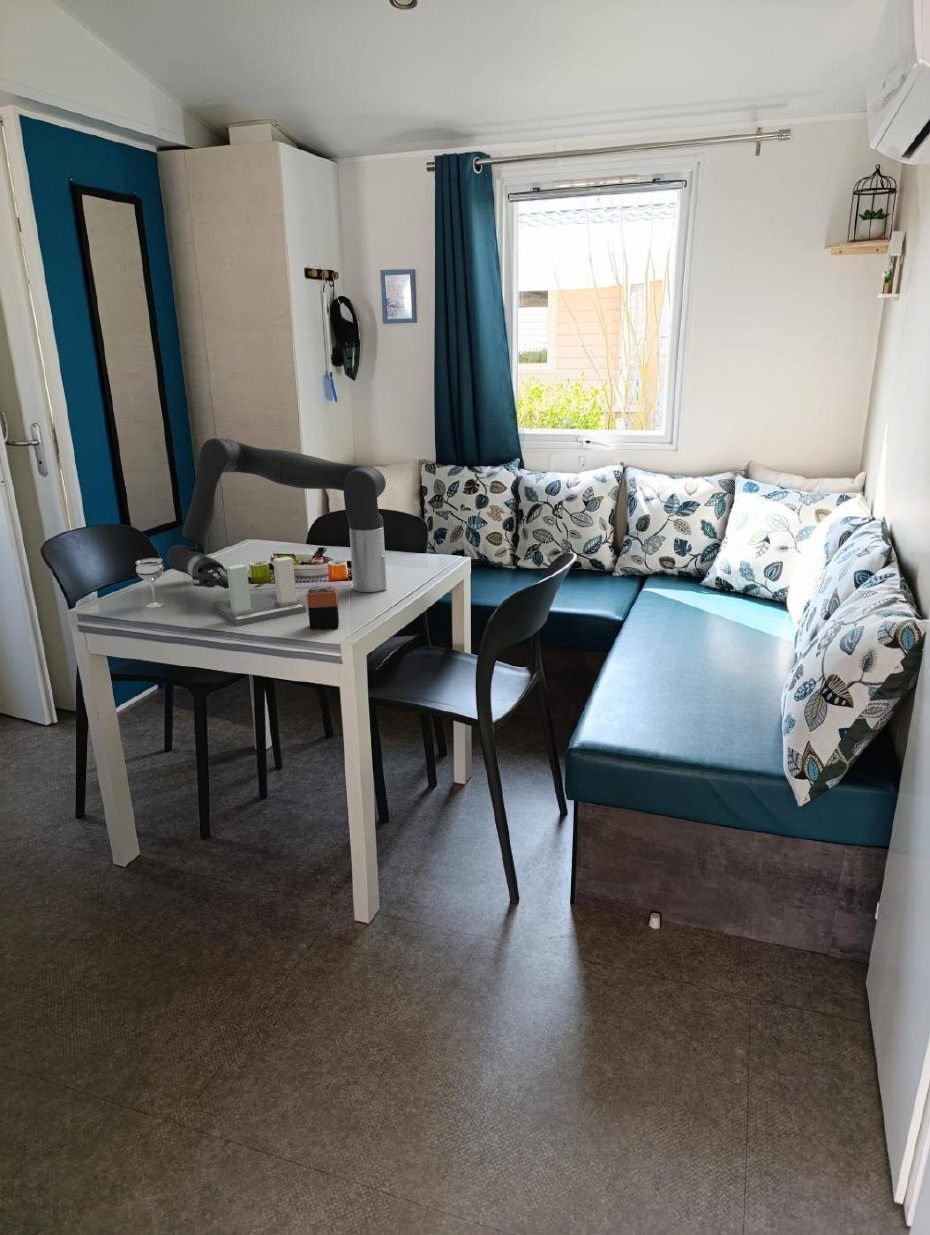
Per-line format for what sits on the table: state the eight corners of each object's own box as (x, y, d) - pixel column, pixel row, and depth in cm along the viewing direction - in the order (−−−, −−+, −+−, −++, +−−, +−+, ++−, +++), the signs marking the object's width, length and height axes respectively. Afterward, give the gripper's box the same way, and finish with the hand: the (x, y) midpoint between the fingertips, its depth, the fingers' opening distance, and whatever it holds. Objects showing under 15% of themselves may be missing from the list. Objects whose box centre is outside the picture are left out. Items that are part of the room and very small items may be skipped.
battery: (310, 624, 198) (307, 585, 195) (339, 623, 199) (336, 583, 196) (309, 630, 194) (306, 590, 191) (338, 629, 195) (335, 588, 191)
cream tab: (274, 603, 210) (270, 558, 206) (293, 600, 212) (289, 555, 209) (281, 607, 206) (276, 562, 203) (299, 603, 209) (295, 558, 205)
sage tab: (229, 612, 203) (223, 566, 199) (248, 608, 206) (243, 563, 202) (234, 616, 200) (229, 569, 196) (254, 612, 203) (249, 566, 199)
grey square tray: (212, 608, 212) (211, 602, 212) (277, 595, 222) (277, 590, 221) (237, 625, 198) (236, 619, 198) (305, 611, 208) (305, 605, 207)
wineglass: (174, 603, 217) (168, 559, 213) (153, 610, 211) (146, 565, 207) (157, 600, 220) (150, 556, 216) (135, 607, 214) (129, 562, 211)
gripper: (179, 561, 216) (200, 574, 203) (228, 553, 223) (251, 565, 210) (182, 588, 218) (204, 603, 205) (231, 579, 226) (254, 594, 212)
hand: (228, 584), depth 207 cm, fingers closed
